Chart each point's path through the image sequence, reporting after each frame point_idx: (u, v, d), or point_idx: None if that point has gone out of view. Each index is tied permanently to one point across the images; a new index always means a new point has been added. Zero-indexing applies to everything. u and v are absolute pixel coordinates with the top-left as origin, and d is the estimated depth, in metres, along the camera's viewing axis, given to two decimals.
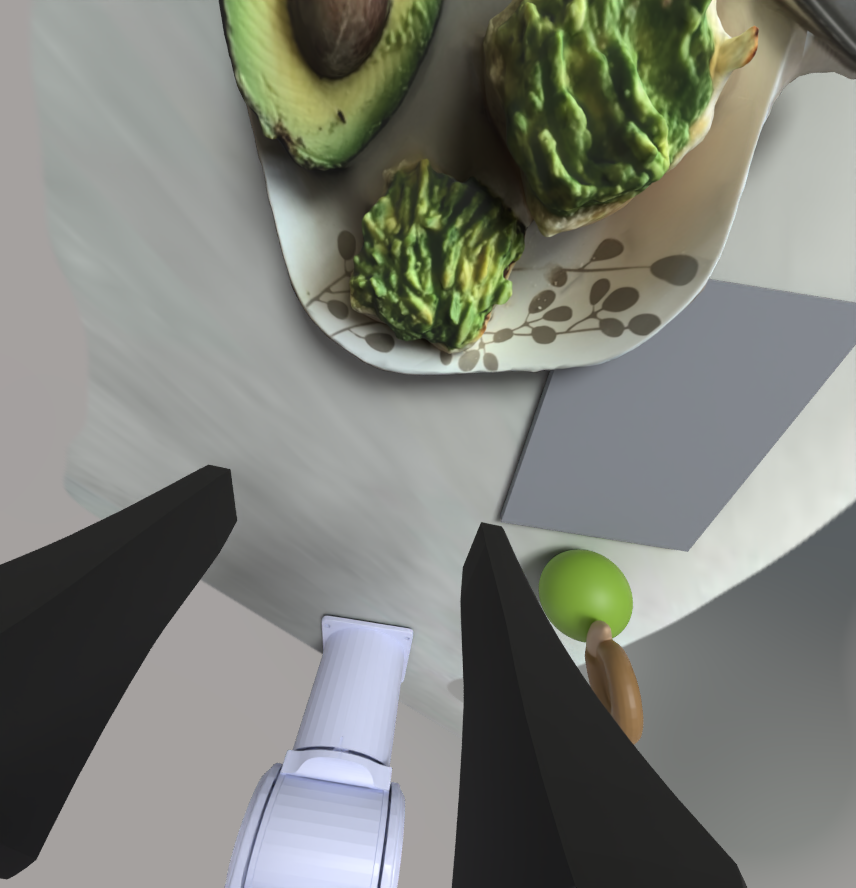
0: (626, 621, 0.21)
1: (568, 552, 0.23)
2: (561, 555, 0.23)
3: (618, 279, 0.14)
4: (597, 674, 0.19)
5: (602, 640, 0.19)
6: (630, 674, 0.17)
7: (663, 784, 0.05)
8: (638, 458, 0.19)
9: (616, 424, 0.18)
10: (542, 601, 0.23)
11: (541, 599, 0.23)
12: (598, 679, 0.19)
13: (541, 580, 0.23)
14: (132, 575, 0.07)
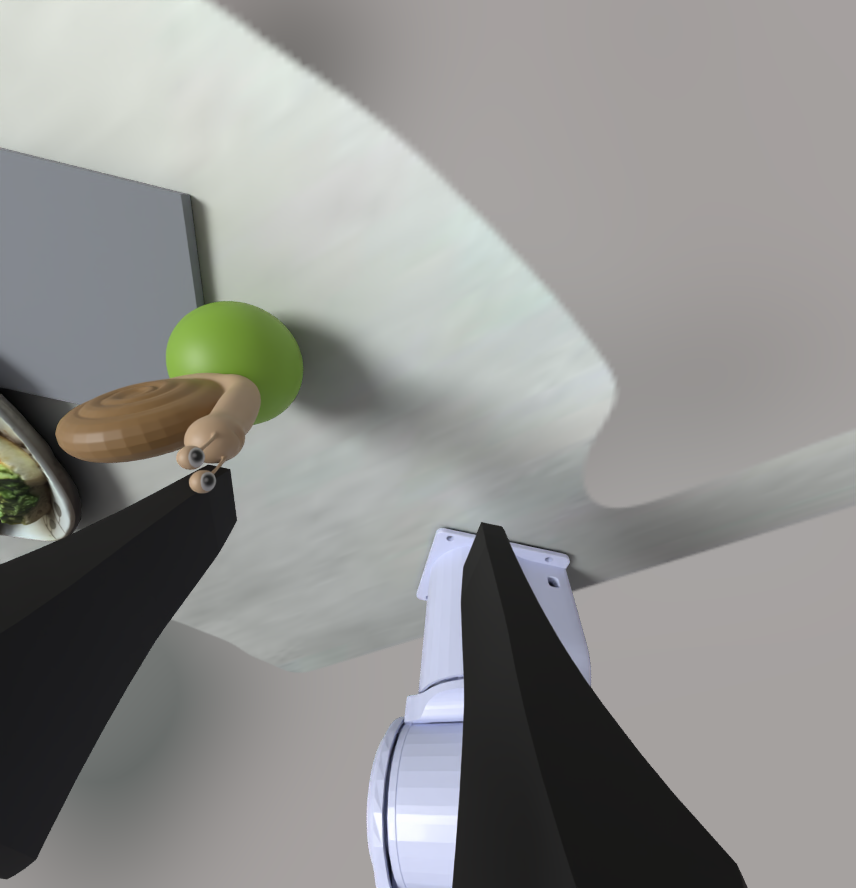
0: (192, 335, 0.14)
1: None
2: None
3: None
4: None
5: None
6: None
7: (663, 784, 0.05)
8: (75, 307, 0.18)
9: (52, 338, 0.19)
10: None
11: None
12: None
13: None
14: (132, 575, 0.07)
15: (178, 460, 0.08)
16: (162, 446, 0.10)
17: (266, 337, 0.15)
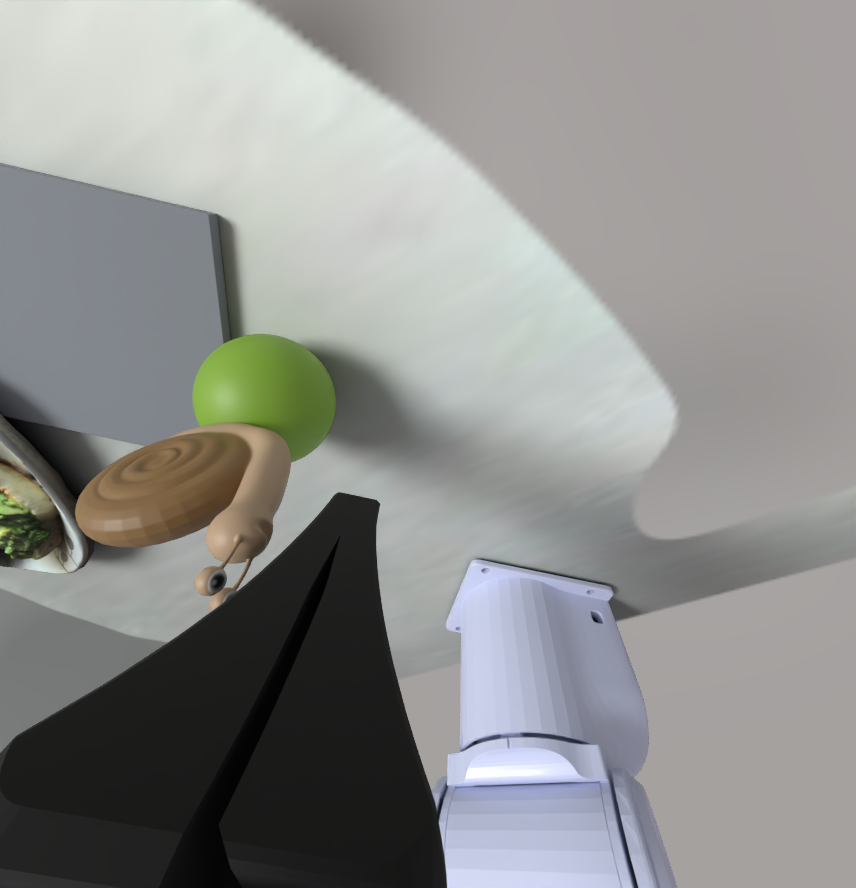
0: (218, 380, 0.13)
1: None
2: None
3: None
4: None
5: None
6: None
7: (406, 737, 0.05)
8: (91, 335, 0.17)
9: (66, 367, 0.18)
10: None
11: None
12: None
13: None
14: (310, 610, 0.07)
15: (196, 588, 0.07)
16: (184, 531, 0.09)
17: (297, 378, 0.13)
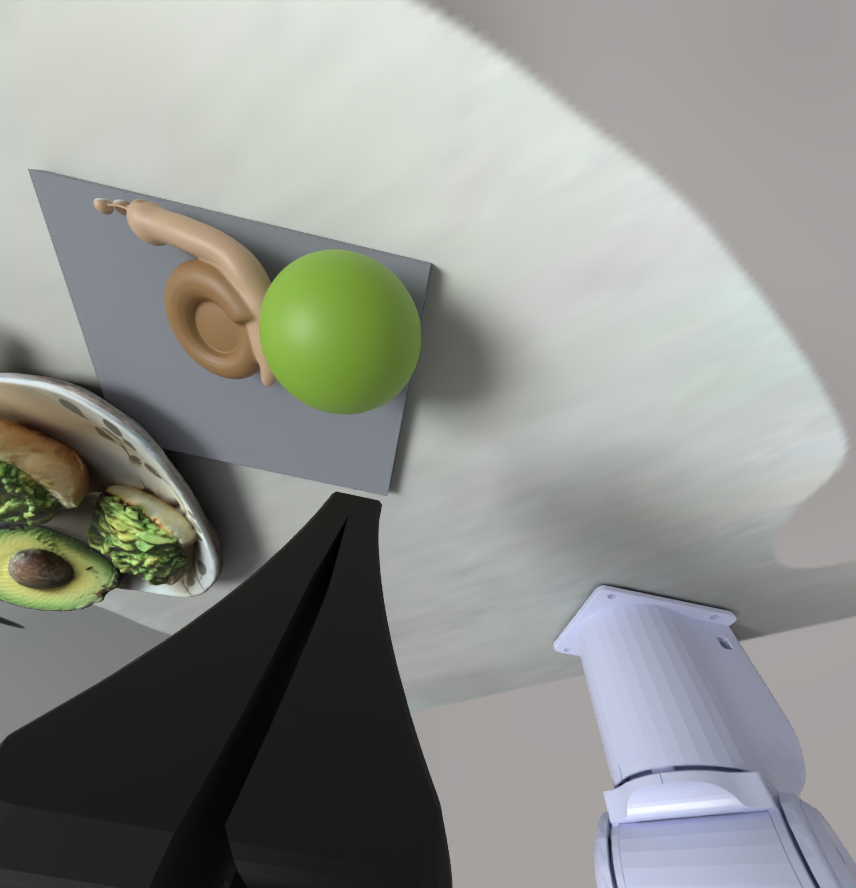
0: None
1: (377, 407, 0.13)
2: (368, 409, 0.13)
3: (109, 432, 0.19)
4: None
5: (259, 364, 0.14)
6: None
7: (411, 737, 0.05)
8: None
9: (238, 403, 0.18)
10: (282, 365, 0.11)
11: (286, 365, 0.11)
12: None
13: (317, 389, 0.11)
14: (307, 609, 0.07)
15: None
16: None
17: None
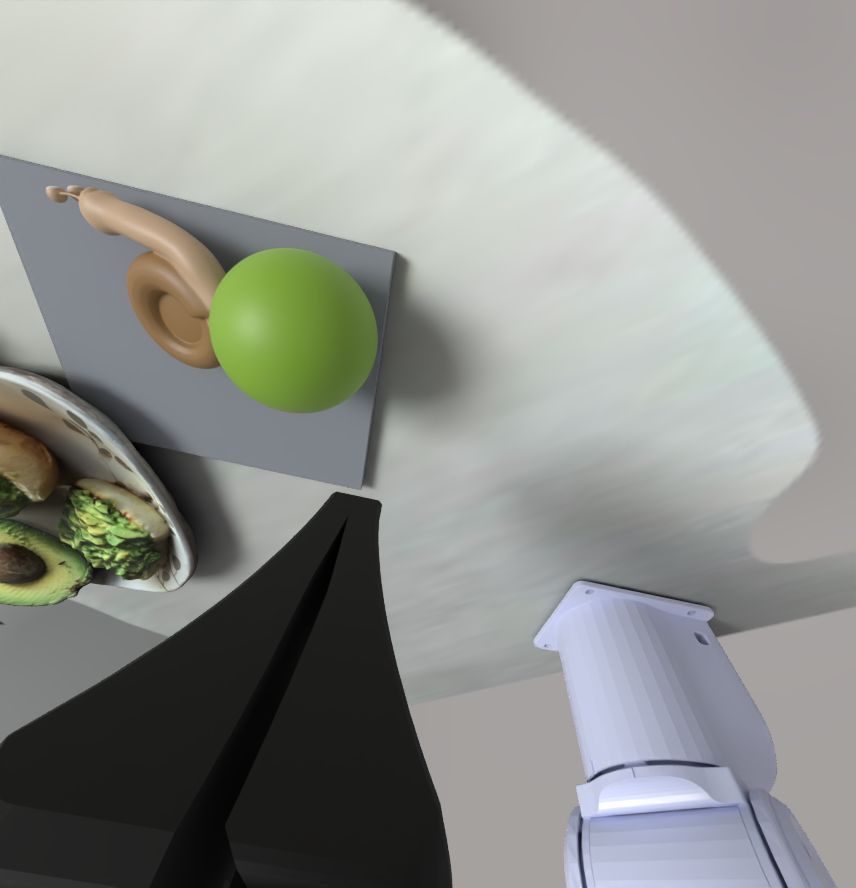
0: None
1: (334, 406, 0.13)
2: (323, 409, 0.13)
3: None
4: None
5: None
6: None
7: (411, 737, 0.05)
8: None
9: (207, 395, 0.18)
10: (230, 370, 0.11)
11: (234, 371, 0.11)
12: None
13: (266, 395, 0.11)
14: (307, 609, 0.07)
15: (77, 196, 0.13)
16: None
17: None
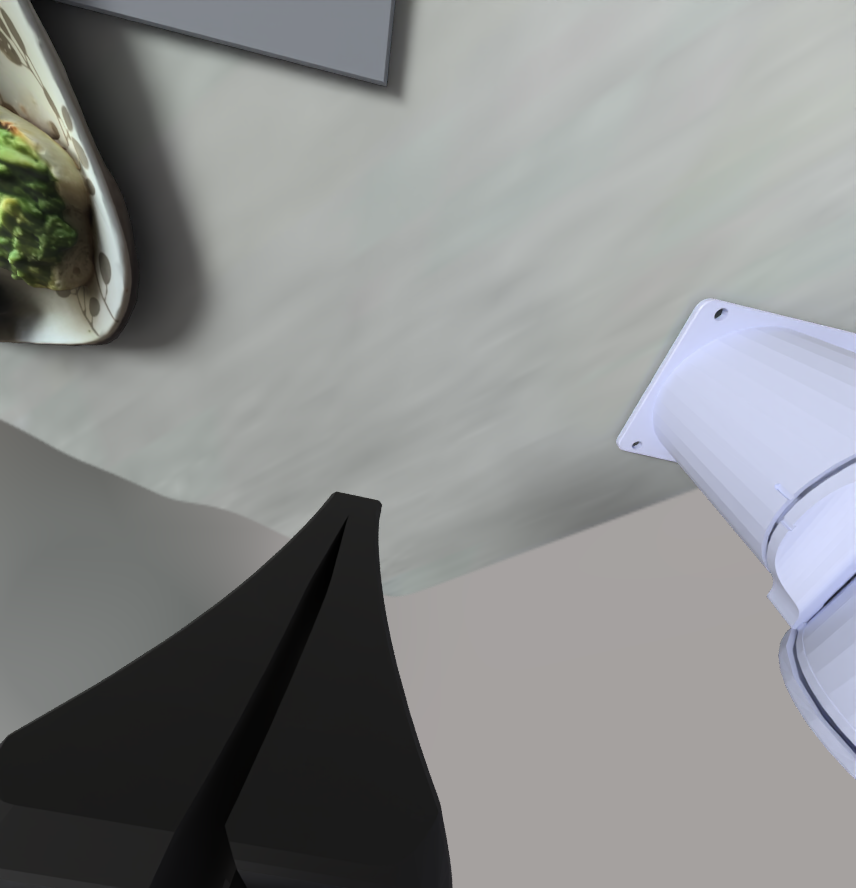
0: None
1: None
2: None
3: None
4: None
5: None
6: None
7: (411, 737, 0.05)
8: None
9: None
10: None
11: None
12: None
13: None
14: (307, 609, 0.07)
15: None
16: None
17: None
